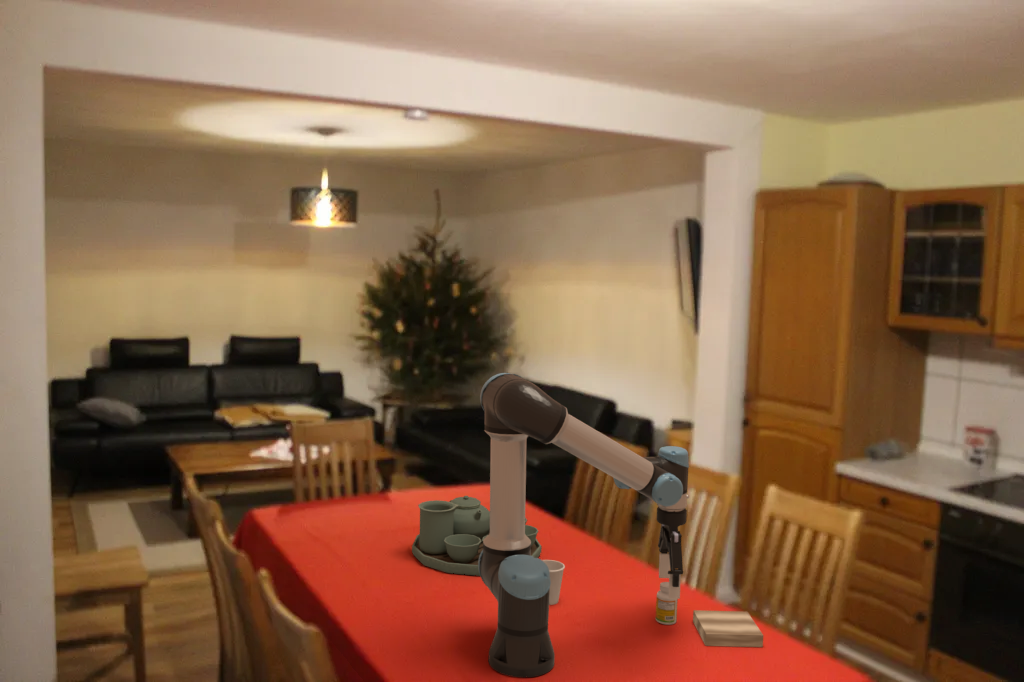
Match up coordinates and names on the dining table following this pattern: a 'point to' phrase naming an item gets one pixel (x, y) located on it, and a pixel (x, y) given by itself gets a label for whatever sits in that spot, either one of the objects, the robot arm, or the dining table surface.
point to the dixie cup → (555, 579)
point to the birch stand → (727, 628)
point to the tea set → (457, 535)
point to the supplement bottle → (665, 606)
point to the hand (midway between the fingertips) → (668, 587)
